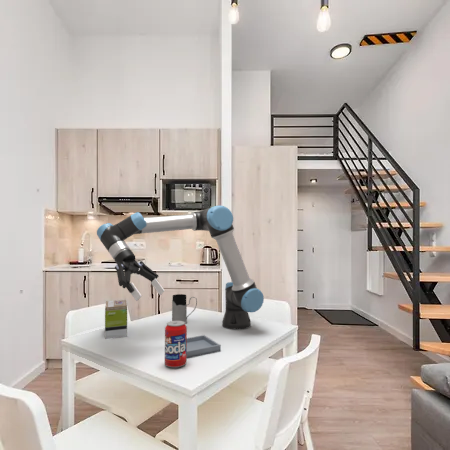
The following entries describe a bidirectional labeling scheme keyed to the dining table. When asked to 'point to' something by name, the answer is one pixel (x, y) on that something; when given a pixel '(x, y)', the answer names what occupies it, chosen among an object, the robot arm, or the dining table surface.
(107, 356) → the dining table surface
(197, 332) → the dining table surface
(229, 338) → the dining table surface
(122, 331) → the tea box
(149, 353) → the dining table surface
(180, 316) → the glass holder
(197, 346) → the tray
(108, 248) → the robot arm
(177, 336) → the soda can
